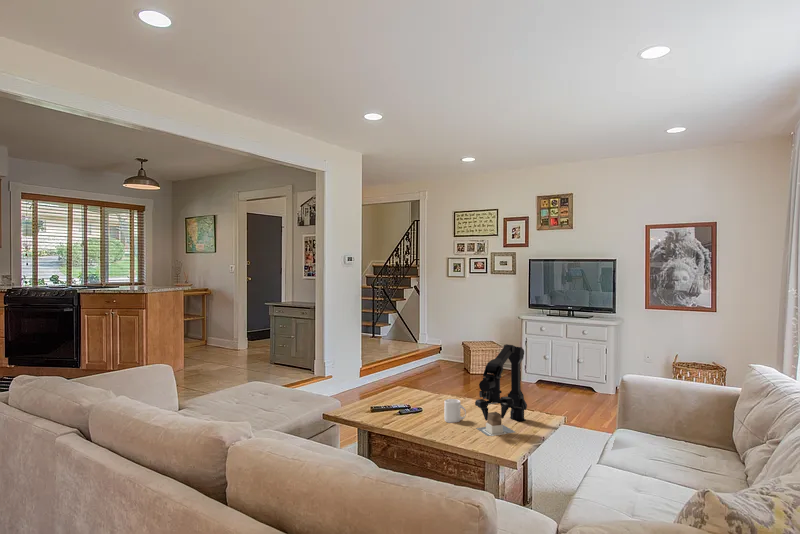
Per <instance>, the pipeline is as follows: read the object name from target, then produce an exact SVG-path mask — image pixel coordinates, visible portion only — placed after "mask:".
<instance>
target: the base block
mask: <svg viewBox="0 0 800 534" xmlns="http://www.w3.org/2000/svg"><path fill="white" fill-rule="evenodd" d="M503 425H504V424H503V423H501V425H496V426H492V425H490V424H488V423H487V422H485V427H486V431H487V432H489V433H490V434H492V435H493V434H500V433H503Z"/></svg>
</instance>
